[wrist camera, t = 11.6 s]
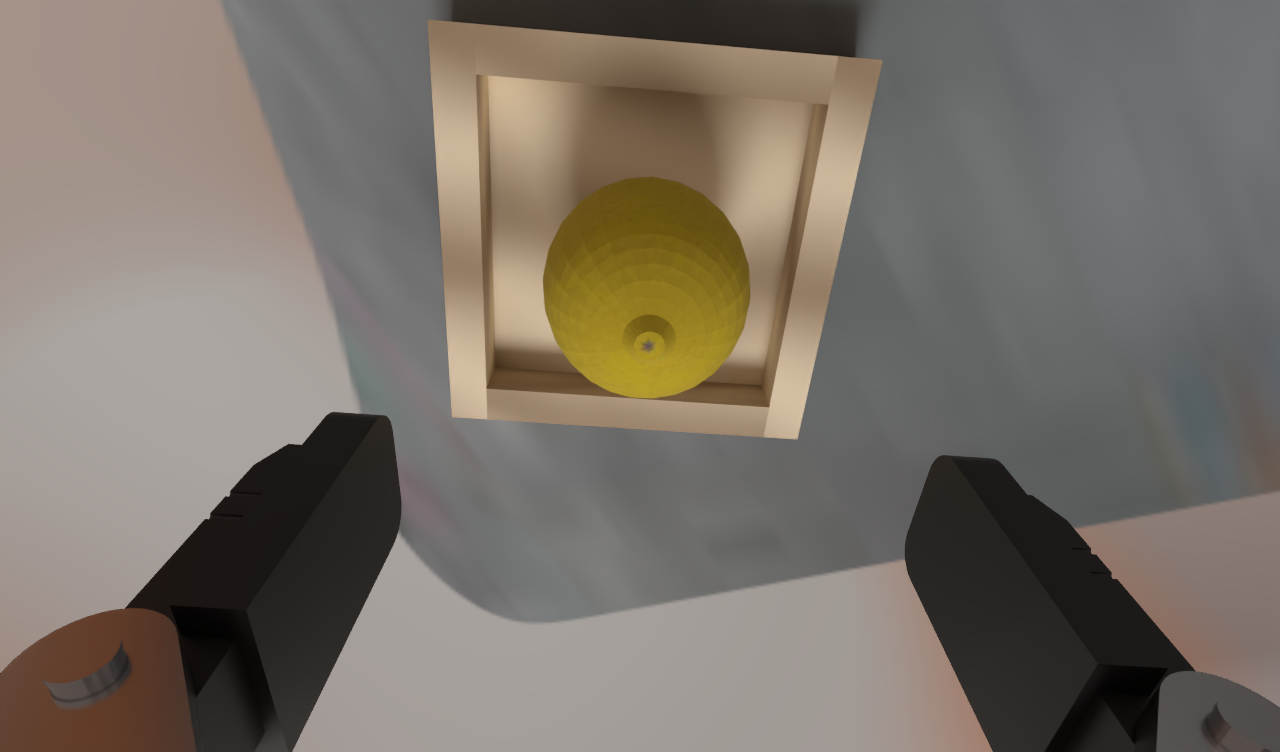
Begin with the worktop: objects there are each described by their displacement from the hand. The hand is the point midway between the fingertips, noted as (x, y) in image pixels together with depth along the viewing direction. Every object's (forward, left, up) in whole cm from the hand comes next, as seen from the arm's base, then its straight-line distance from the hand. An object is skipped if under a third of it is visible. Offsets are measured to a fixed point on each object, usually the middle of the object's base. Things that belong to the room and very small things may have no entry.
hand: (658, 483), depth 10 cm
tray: (0, 0, -14) cm, 14 cm away
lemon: (0, 0, -13) cm, 13 cm away
